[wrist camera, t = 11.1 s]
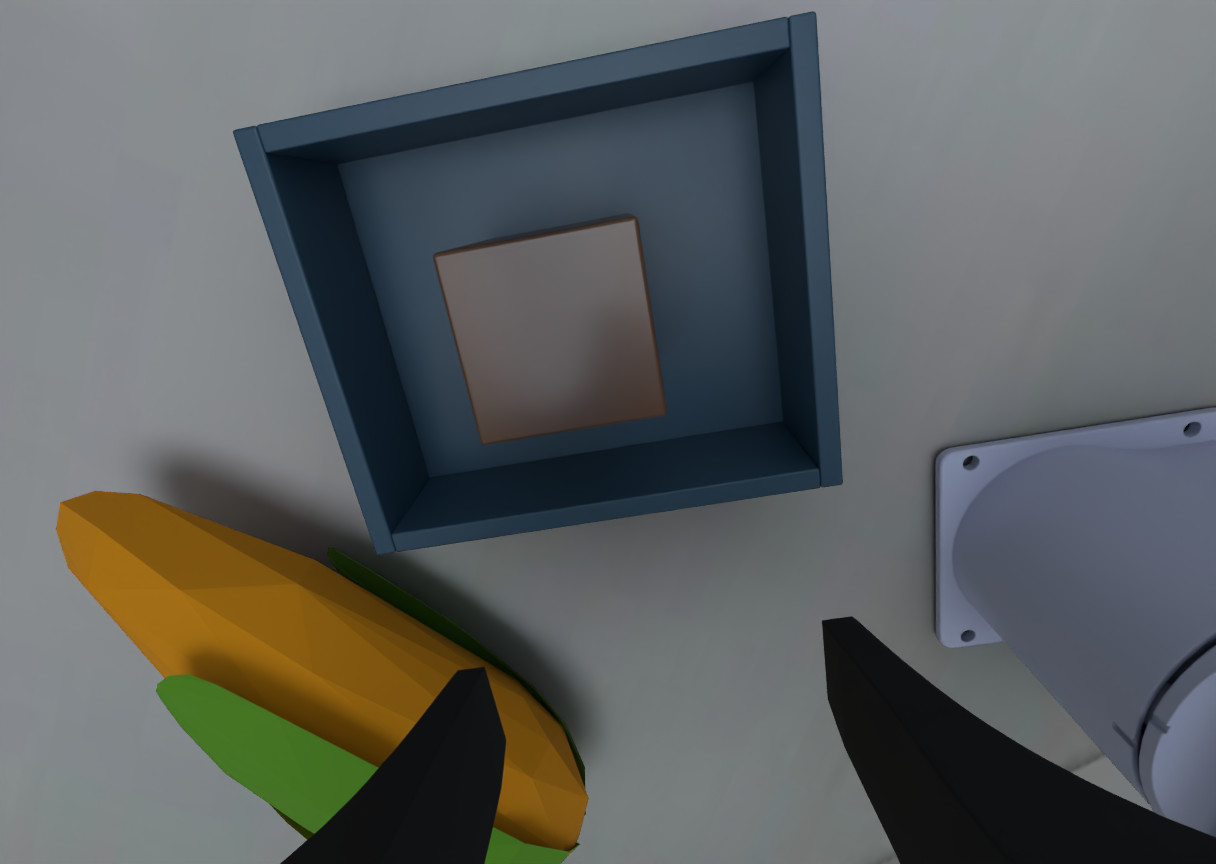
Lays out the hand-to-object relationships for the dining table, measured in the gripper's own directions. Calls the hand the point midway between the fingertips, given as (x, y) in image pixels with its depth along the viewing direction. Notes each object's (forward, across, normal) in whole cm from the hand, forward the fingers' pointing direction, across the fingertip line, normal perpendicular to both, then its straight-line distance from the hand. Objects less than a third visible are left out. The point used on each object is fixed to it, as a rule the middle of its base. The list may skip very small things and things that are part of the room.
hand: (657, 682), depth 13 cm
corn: (+10, +11, +4) cm, 15 cm away
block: (+9, +1, -7) cm, 11 cm away
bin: (+9, +1, -7) cm, 12 cm away
